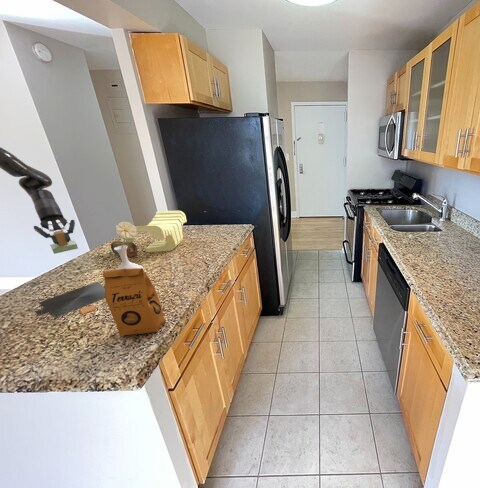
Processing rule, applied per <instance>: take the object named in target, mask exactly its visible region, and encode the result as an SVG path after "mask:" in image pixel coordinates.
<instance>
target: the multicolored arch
mask: <svg viewBox="0 0 480 488" xmlns="http://www.w3.org/2000/svg"><path fill="white" fill-rule="evenodd" d="M123 241H124V240H120V239H119V240H118V239H117V240H114V241H112V242H111V243H110V250H111V251H112V253H113V254H114V255H115V256H117V257H120V255H119V253H118V252H117V251H116V250H114V248H115V247H118V246H122V244H123ZM113 242H115V243H122V244H114V243H113ZM124 245H126V246H128V247H127V250H126V254H127V258H132V257H134V256H136V255H137V254H138V252H139V251H138V247H137V245H136V244H135V243H134V241H133V242H131V243H129V242H127V241H124V244H123V246H124Z"/></svg>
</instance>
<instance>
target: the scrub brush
mask: <svg viewBox="0 0 480 488" xmlns="http://www.w3.org/2000/svg"><path fill="white" fill-rule="evenodd" d="M54 234H55V236H56V238H57V241H58V243H59V244H58V245H57V244H54V243H52V244H50V245H49V246H50V248H51V251H52V252H53V255H55V254H56V255H57V254H61V253H65V252H70V251H74V250H78V249H79V246H78V244H77V242H76V241H75V239H71V241H69V242H67V240H66V238H65V235H64V233H63V231H61V230H56V231H54Z"/></svg>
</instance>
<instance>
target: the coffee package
mask: <svg viewBox="0 0 480 488" xmlns="http://www.w3.org/2000/svg"><path fill="white" fill-rule="evenodd" d="M102 277H103V278H104V285H105V293H106V295H105V296H106V298H104V299H105V302H106V304H107V306H108V309H109V312H110V315H111V316H112V319H113V321H114V323H115V326H116V329H117V331H118V335H119V337H123V336H131V335H143V334H149V333H150V334H151V333H157V332H159V330H160V329H161V327H162V325H163V324H165V323H166V318H165V315H164V310H163V306H162V303H161V300H160V298H159V296H158V292H157V291H156V288H155V285H154V284H153V283H152V281H151V279H150V278H149V276H148V274H147V272H146V271H145V270H144V268H143V269H142V268H133V269H118V270H116V269H111V270H104V271H103V272H102Z"/></svg>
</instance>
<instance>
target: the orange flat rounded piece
mask: <svg viewBox="0 0 480 488" xmlns="http://www.w3.org/2000/svg"><path fill="white" fill-rule="evenodd" d="M97 309H98V308H96V305H95V304H91V305H88V306H85V307H82V308H80V309H79V311H80V313H81V315H82V316H83V315H86V314H88V313H91V312H94V311H97Z"/></svg>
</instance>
